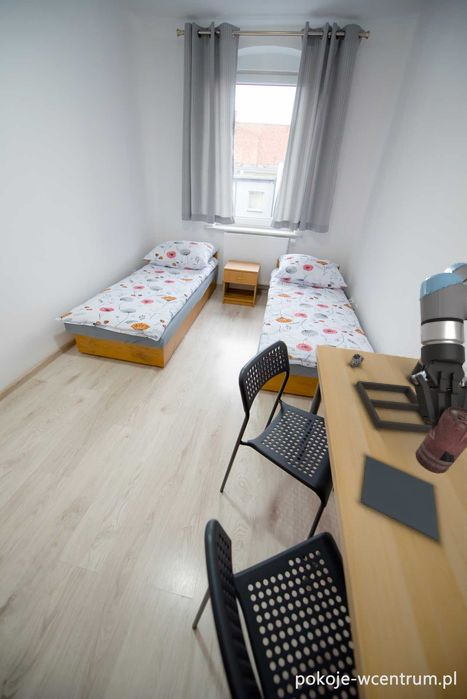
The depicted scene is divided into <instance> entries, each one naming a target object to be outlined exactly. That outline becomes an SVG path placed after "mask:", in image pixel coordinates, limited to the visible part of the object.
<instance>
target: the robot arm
mask: <svg viewBox="0 0 467 699" xmlns="http://www.w3.org/2000/svg"><path fill="white" fill-rule="evenodd" d="M419 302H420V303H419V306H420V307H419V308H420V311H419V312H420V344H421V345H422V346H420V357H421V362H422V363H423V366H422V368H421V372H420V373H418V374H416V375H411V374H410V375H411V376H410V375H409V376H410V380H411V382H412V383H413V384H412V383H411V382H410V383H411V384H412V385H413V387H414V391H415V392H414V393H415V394H416V396H417V400H418V405H419V409H420V413H421V416H420V417H421V420H422V422H424V423H425V422H427V423H428V424H429V425H431V426H432V431H433V429H434V428H435V427H436V426H437V423H438V422H439V419H440V417H441V415H442V413H443V412H444V410H446V409H448V408H450V407H459V408H463V409H465V410H467V376H466V373H465V370H464V367H463V366H464V364H465V363H466V348H465V346H464V345H463V344H464V343H465V342H466V341H465V340H466V339H465V321H467V262H457V263H454V264H452V265H450V266H448V267H447V268H446V269H445V270H444V271H443V272H441V273H436V274H432V275H430V276H428V277H426V278H425V279H424V280H422V282H421V284H420V290H419ZM426 381H427V382H428V384H427V382H426ZM439 460H441V461H444V462H451V463H453V464H455V462H454V455H451V454H449V453H448V452H447V451H445V453H444V454H443V455H442V456H441V458H440V459H439Z"/></svg>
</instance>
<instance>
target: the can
mask: <svg viewBox="0 0 467 699" xmlns="http://www.w3.org/2000/svg"><path fill="white" fill-rule="evenodd" d="M466 449H467V410H465V409H463V408H459V407H450V408H448V409H446V410H444V412H443V413H442V415H441V417H440V419H439V422H438V423H437V426H436V427H435V428H434V429H433V431H432V429H431V430H430V432H429V433H427V435H426V436H425V438H424V439H423V440H422V442H421V443H420V445H419V446H418V447H417V449H416V451H415V452H414V453H415V459H416V461H417V462H418V464H419V465H420V466H421V467H423V468H424V469H425V470H427V471H428V472H431V473H433V474H439V475H440V474H445V473H446V472H447V471H448V470H449V469H450V468H451V467H452V465H453V464H454V463H456V460H457V459H458V458H459V457H460V456H461V455H462V454H463V452H464V451H465V450H466ZM445 451H447V452H448V453H449V454H451V455H454V463H451V462H444V461H441V460H439V459H440V458H441V456H442V455H443V454H444V453H445Z"/></svg>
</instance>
